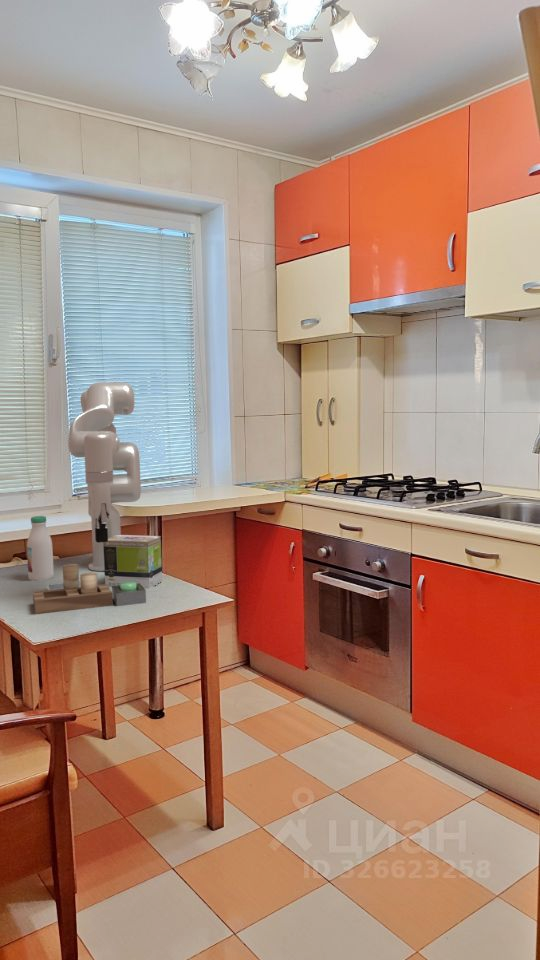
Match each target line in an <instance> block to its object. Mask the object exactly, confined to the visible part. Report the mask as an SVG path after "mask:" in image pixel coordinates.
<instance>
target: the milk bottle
mask: <svg viewBox="0 0 540 960" xmlns="http://www.w3.org/2000/svg"><path fill="white" fill-rule="evenodd" d="M30 524H31V530H30V533H29V535H28V538H27V542H26V543H27V544H26V553H27V574H28V579H29V581H43V580H44V581H45V580H50V579H53V578H54V576H55V575H54V573H55V572H54V571H55V569H54V553H53V540H52V537H51V535H50V534H49V531H48V529H47V526H46V524H47V517H46V515H45V516H44V515H35V516H31V517H30Z"/></svg>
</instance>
